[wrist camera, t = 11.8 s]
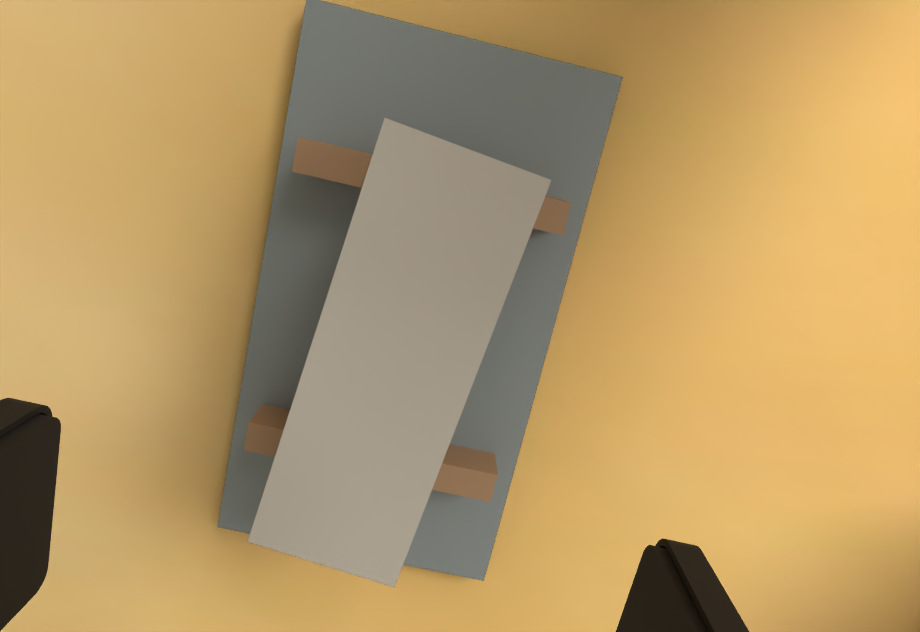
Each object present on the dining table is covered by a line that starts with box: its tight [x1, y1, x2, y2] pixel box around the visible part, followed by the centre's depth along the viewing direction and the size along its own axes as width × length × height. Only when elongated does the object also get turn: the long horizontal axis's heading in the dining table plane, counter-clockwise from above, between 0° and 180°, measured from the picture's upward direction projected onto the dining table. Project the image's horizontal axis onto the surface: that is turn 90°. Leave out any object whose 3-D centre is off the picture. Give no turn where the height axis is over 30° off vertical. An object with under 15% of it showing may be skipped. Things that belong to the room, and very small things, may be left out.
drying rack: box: [218, 0, 623, 581], centre depth 27 cm, size 22×12×3 cm, turn 167°
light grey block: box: [248, 118, 551, 587], centre depth 23 cm, size 14×5×5 cm, turn 160°
